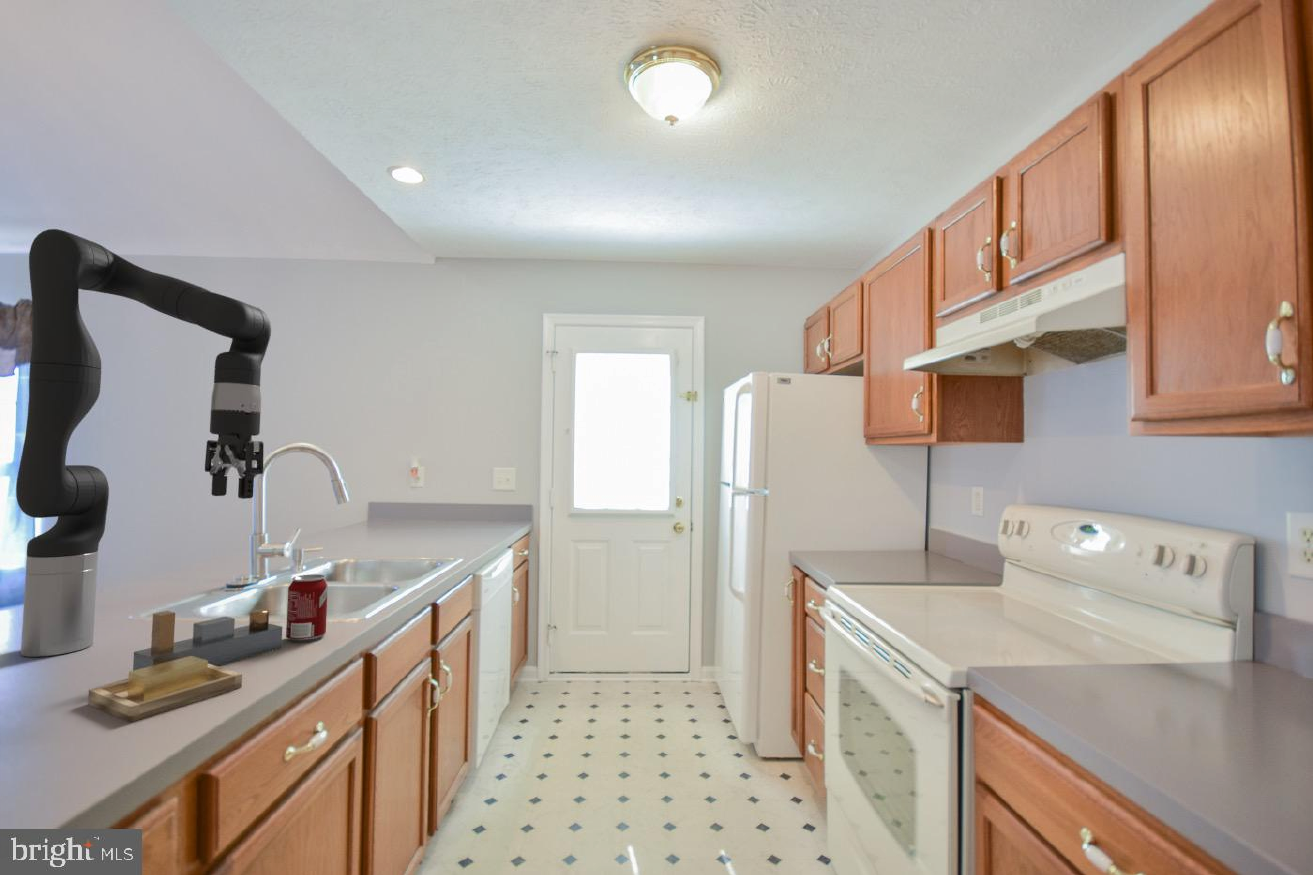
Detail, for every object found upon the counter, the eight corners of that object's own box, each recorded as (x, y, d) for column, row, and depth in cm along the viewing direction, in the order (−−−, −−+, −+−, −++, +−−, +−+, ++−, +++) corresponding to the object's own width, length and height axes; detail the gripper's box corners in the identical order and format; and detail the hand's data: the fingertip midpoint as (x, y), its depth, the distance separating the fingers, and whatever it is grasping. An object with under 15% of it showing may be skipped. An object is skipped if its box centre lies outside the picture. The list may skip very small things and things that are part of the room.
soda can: (312, 644, 113) (315, 581, 113) (277, 643, 113) (280, 580, 114) (332, 633, 120) (335, 574, 120) (299, 632, 120) (302, 573, 120)
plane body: (151, 684, 92) (155, 619, 93) (132, 676, 95) (135, 614, 95) (281, 648, 110) (283, 594, 111) (262, 643, 113) (264, 590, 113)
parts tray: (88, 703, 85) (88, 689, 85) (199, 673, 97) (199, 660, 97) (129, 722, 79) (130, 707, 79) (241, 687, 92) (242, 674, 92)
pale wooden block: (127, 696, 86) (128, 671, 86) (190, 678, 93) (191, 655, 93) (143, 702, 84) (144, 677, 84) (206, 683, 91) (207, 660, 91)
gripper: (192, 408, 109) (187, 496, 109) (236, 407, 103) (232, 500, 102) (235, 411, 116) (231, 494, 115) (280, 410, 110) (276, 498, 109)
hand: (232, 497), depth 109 cm, fingers open, 8 cm apart
